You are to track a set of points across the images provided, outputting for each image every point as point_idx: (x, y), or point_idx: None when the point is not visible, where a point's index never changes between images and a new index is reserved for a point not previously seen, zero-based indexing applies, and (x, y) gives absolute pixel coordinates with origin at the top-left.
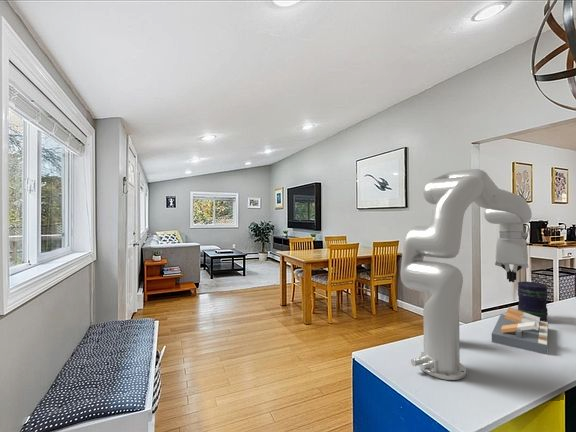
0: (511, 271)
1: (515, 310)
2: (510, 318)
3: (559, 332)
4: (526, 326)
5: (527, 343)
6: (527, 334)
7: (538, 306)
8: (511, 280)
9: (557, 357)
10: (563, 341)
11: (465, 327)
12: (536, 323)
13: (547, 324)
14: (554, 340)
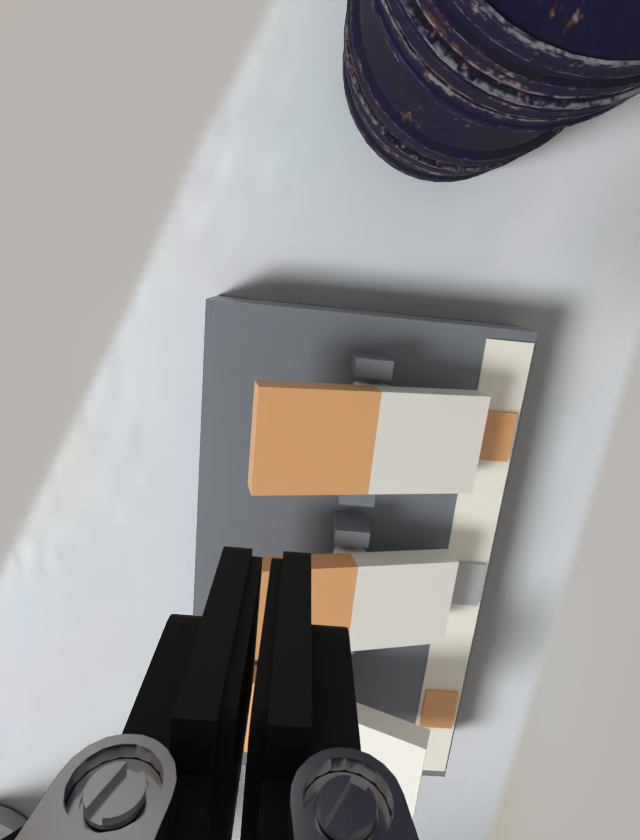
0: (232, 757)
1: (315, 432)
2: None
3: (573, 340)
4: None
5: None
6: (368, 675)
7: (541, 133)
8: (258, 606)
9: (468, 738)
10: (550, 508)
11: (29, 577)
12: (440, 582)
13: (520, 406)
14: (506, 518)
